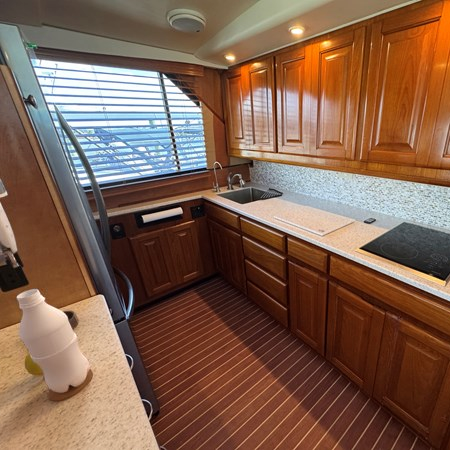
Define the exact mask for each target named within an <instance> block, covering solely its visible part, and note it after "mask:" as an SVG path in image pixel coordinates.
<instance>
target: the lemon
mask: <svg viewBox="0 0 450 450" xmlns="http://www.w3.org/2000/svg"><path fill="white" fill-rule="evenodd" d="M24 368H25V370H26V371H27V373H28V374H30V375H32V376H36V377H37V376H38V377H39V376H44V372H43V370H42V369H41V367H40V366H39V365H38V364H37V363H35V362H34V361H33V360H32V358H31V356H30V353H29V352H28V353H27V355H26V356H25V359H24Z"/></svg>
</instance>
